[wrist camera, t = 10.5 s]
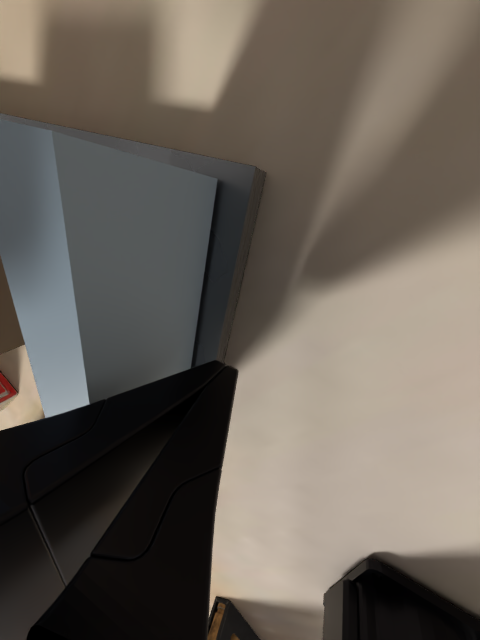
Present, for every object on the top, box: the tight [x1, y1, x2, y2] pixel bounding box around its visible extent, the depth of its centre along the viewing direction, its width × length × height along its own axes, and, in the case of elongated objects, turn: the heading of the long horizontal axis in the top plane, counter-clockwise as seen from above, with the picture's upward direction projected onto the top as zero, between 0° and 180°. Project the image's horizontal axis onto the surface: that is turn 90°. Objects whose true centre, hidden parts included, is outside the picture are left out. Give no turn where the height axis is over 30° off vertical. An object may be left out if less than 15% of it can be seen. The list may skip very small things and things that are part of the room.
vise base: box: [0, 113, 266, 368], centre depth 10 cm, size 18×12×6 cm, turn 80°
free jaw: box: [0, 119, 218, 418], centre depth 8 cm, size 2×11×4 cm, turn 167°
